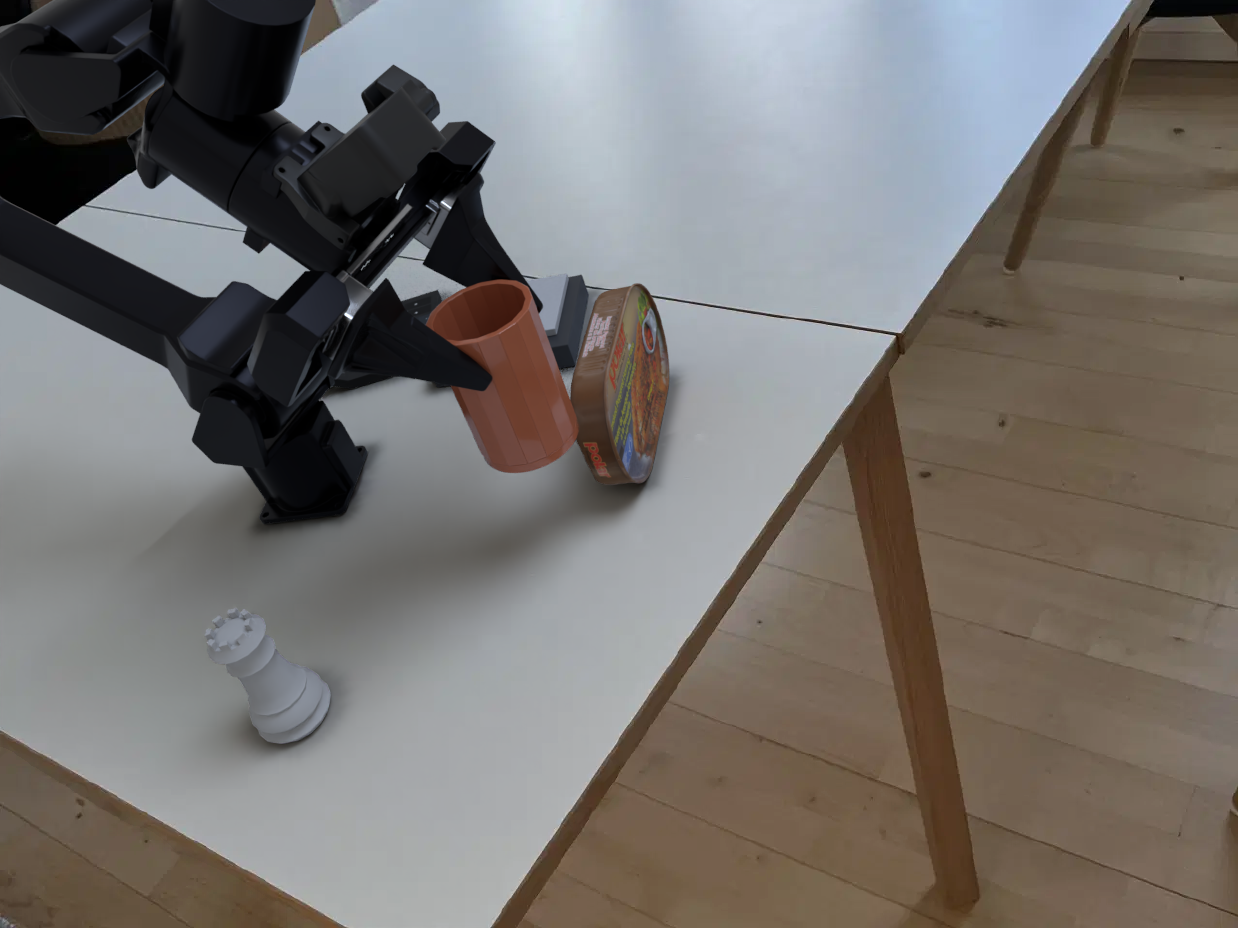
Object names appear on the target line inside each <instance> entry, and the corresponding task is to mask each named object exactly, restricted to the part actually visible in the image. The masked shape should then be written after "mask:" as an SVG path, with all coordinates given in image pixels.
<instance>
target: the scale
mask: <svg viewBox="0 0 1238 928" xmlns="http://www.w3.org/2000/svg"><path fill="white" fill-rule="evenodd" d="M526 281H527V282H528V284H529V285H530V287H531V288H532V289H533V291H534V292H535V294H536V295H537V296H538V298H539V299H540V301H541V302H542V304H543V309H542V310H541V312H540V313H539V316H540V319H541V321H542V324H543V327H544V329H545V332H546V335H547V338H548V340H549V343H550V346H551V349H552V351H553V354H554V357H555V360H556V362H557V365H558V368H559V369H563V368H570V367H576V363H577V359H578V355H579V350H580V343H581V338H582V334H583V327H584V323H585V317H586V312H587V308H588V307H587V306H588V301H589V296H590V294H589V291H588V289H587V286H586V282H585V279H584V277H583V274H577V275H573V276H568V273H561V274H555V275H549V276H544V277H539V278H533V279H526ZM434 385H435V386H436V388H442V387H443V388H444V387H449V386H450V385H444V384H439V383H434ZM450 387H451V386H450Z"/></svg>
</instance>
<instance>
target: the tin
mask: <svg viewBox="0 0 1238 928" xmlns="http://www.w3.org/2000/svg"><path fill="white" fill-rule="evenodd" d="M669 387H670V359H669V351H668V345H667V338H666V334H665V330H664V326H663V322H662V318H661V315H660V312H659V310H658V306H657V304H656V302H655V299H654V298H653V296H652V294H651V291H649V289H648V288H647V287H646V286H645V285H644V284H642V283H640V282H635V283H633V284H632V285H628V286H623V287H617V288H612V289H608V290H605V291H603V292H601V293H600V294H599V295H598V296H597V298H596V299H595V301H594V303H593V306H592V310H591V314H590V317H589V319H588V323H587V325H586V330H585V332H584V336H583V340H582V342H581V346H580V348H579V352H578V356H577V360H576V365H575V366H574V370H573V374H572V377H571V383H570V394H569V398H570V401H571V403H572V406H573V409H574V411H575V414H576V417H577V420H578V424H579V431H578V435H577V438H576V440H575V442H576V444H577V446H578V448H579V449H580V452H581V453H582V456H583V458H584V460H585V463H586V465H587V467H588V469H589V470H590V472H591V474H592V476H593V478H594V480H595V481H596V482H598V483H599V484H601V485H606V486H612V485H613V486H614V485H623V484H624V485H625V484H631V483H634V484H643V483H645V481H647V480H648V478H649V477H650V475H651V473H652V471H653V467H654V462H655V458H656V453H657V447H658V442H659V438H660V437H659V436H660V432H661V428H662V427H661V426H662V423H663V417H664V412H665V408H666V403H667V398H668V393H669Z"/></svg>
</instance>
